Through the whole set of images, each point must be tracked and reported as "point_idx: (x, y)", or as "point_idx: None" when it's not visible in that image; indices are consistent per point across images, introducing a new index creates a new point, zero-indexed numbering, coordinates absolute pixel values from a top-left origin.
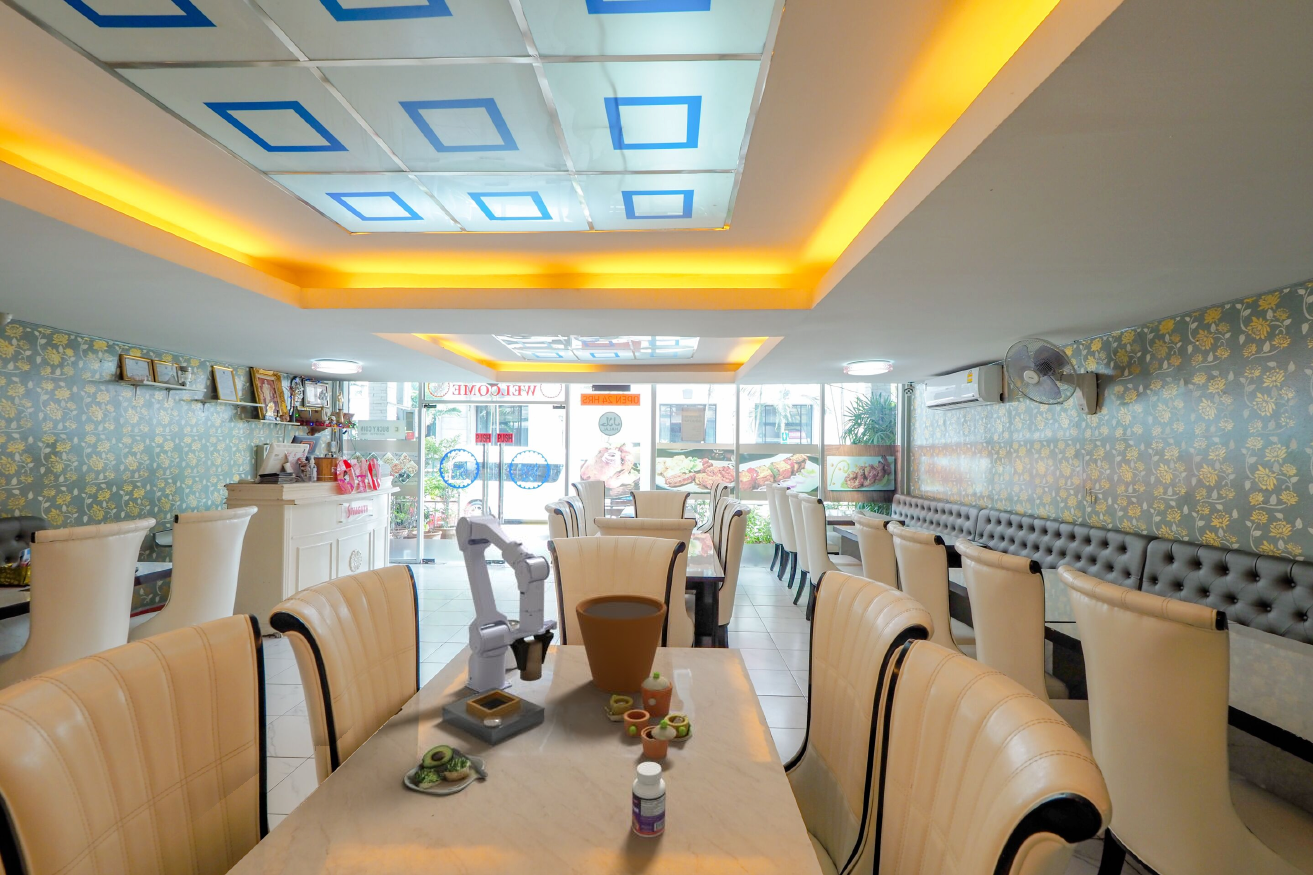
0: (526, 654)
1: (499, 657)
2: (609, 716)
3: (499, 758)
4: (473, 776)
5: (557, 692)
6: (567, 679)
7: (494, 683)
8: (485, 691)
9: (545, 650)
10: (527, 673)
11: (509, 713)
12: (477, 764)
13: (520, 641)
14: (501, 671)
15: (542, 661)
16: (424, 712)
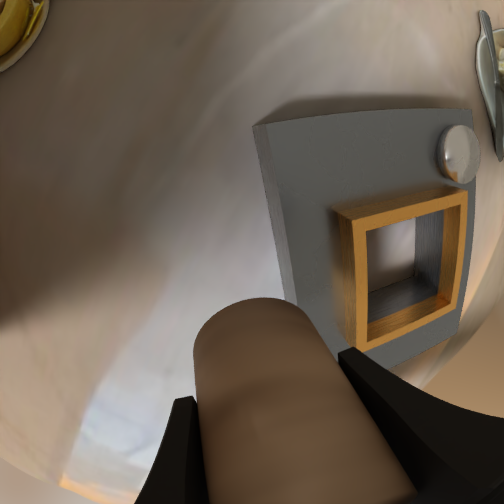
0: (416, 421)
1: None
2: (45, 11)
3: (444, 47)
4: (494, 34)
5: (97, 323)
6: (48, 379)
7: None
8: None
9: (171, 475)
10: (320, 336)
11: (396, 180)
12: (486, 57)
13: (495, 495)
14: None
15: (190, 408)
16: (428, 363)
